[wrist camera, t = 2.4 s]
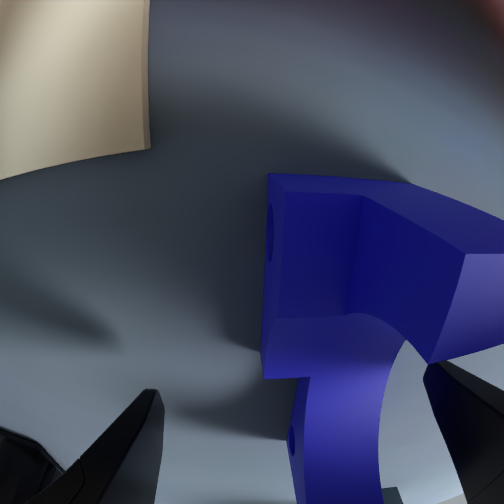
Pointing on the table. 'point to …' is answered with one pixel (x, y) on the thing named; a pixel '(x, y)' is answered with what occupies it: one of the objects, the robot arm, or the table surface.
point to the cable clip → (367, 310)
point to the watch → (391, 496)
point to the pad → (72, 81)
